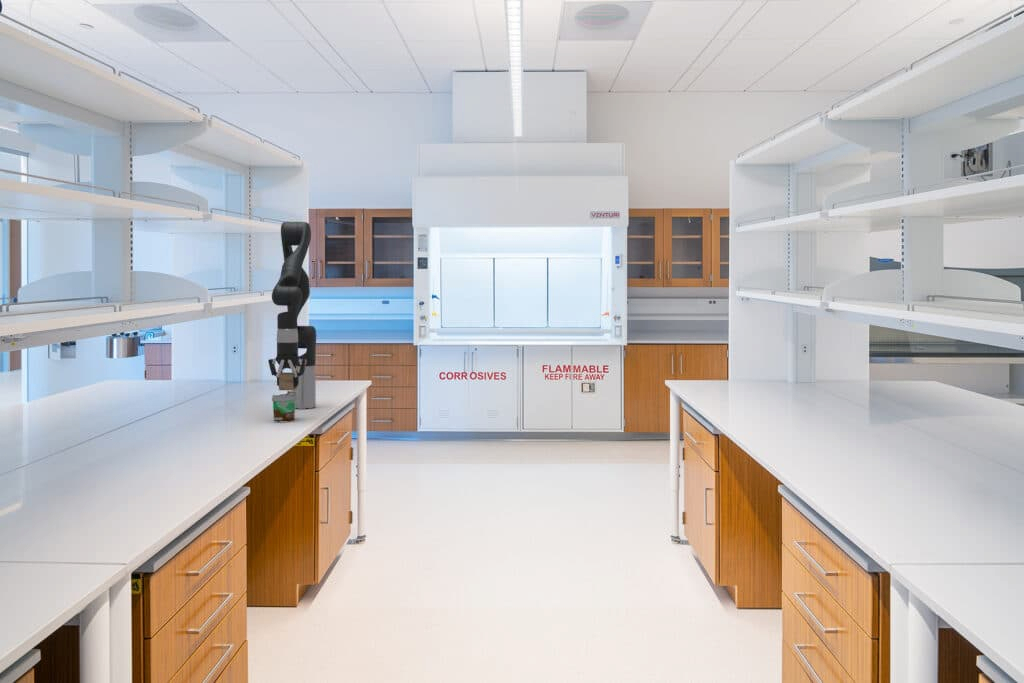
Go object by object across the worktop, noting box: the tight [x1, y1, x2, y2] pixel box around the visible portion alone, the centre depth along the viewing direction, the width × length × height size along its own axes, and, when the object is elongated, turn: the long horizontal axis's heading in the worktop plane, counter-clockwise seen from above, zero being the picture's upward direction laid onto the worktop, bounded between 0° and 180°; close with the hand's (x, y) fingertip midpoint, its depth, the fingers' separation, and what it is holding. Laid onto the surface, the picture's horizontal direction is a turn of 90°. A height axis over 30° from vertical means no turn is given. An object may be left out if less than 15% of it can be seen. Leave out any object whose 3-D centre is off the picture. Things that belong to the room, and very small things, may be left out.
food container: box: [271, 390, 297, 422], centre depth 290 cm, size 12×6×10 cm, turn 168°
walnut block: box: [278, 371, 297, 391], centre depth 290 cm, size 5×5×6 cm
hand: (287, 386), depth 290 cm, fingers closed on walnut block, 5 cm apart
